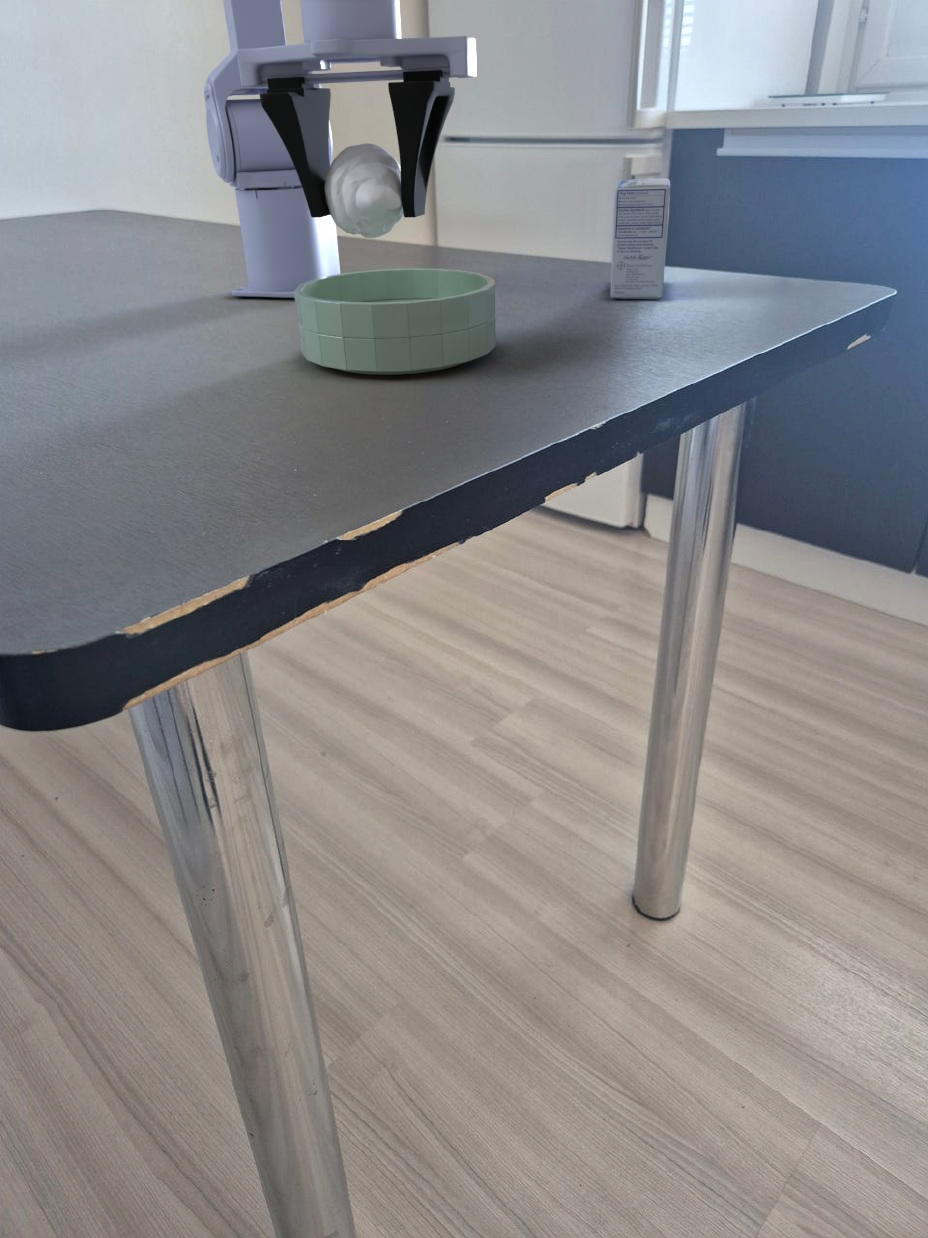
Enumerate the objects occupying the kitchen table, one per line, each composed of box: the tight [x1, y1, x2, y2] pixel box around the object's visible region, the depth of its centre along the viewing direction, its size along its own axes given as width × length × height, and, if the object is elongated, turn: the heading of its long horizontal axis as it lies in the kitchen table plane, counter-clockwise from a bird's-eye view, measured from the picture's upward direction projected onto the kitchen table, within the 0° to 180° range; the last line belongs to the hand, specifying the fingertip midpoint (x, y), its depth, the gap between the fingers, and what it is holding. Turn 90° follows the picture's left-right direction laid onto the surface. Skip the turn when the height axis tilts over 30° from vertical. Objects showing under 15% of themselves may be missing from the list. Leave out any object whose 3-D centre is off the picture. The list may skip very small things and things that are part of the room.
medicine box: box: [610, 178, 671, 300], centre depth 72 cm, size 8×4×9 cm, turn 168°
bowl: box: [294, 267, 497, 376], centre depth 56 cm, size 13×13×4 cm
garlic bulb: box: [325, 142, 404, 239], centre depth 53 cm, size 6×6×5 cm
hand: (367, 215), depth 54 cm, fingers closed on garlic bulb, 6 cm apart
